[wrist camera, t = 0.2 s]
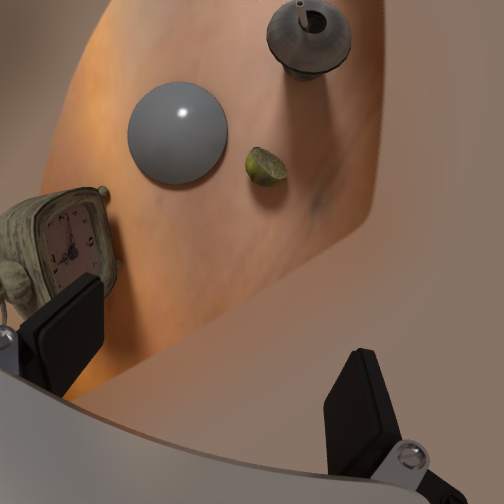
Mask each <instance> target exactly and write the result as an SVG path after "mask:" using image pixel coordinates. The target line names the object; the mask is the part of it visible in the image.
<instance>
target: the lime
mask: <svg viewBox="0 0 504 504" xmlns="http://www.w3.org/2000/svg"><path fill="white" fill-rule="evenodd" d="M245 168H246V171H247V173H248V175H249V176H250V177H251V179H252V181H253V182H255V183H256V184H258V185H260V186H262V187H273V186H275V185H278V184H280V183H281V182H282V181H284V180H285V178H286V177H287V169H286V167H285V165H284V164H283V163H282V161H281V160H280V159H279V158H277V157H276V156H275V155H273V154H272V153H270V152H269V151H267V150H264V149H261V148H260V147H254V148H253V149H252V150H251V151H250V152H249V154H248V156H247V158H246V163H245Z"/></svg>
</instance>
